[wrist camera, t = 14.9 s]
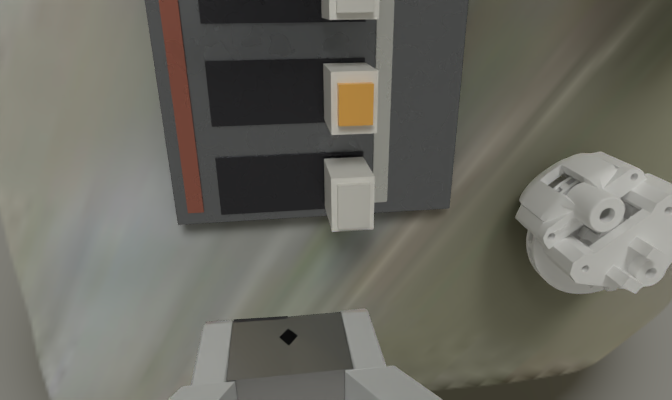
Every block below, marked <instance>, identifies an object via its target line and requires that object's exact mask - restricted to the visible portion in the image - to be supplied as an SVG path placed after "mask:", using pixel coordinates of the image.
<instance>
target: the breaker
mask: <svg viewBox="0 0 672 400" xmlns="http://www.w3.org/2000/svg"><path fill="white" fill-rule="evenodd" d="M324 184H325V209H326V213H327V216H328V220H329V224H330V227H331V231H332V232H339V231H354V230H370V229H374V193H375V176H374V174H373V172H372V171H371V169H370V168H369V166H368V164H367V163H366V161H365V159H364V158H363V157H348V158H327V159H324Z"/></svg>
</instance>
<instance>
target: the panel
mask: <svg viewBox="0 0 672 400" xmlns="http://www.w3.org/2000/svg"><path fill="white" fill-rule="evenodd" d="M145 5H146V12H147V18H148V25H149V32H150V39H151V45H152V52H153V59H154V66H155V72H156V79H157V86H158V93H159V99H160V106H161V113H162V119H163V126H164V133H165V140H166V146H167V153H168V160H169V167H170V173H171V180H172V187H173V194H174V200H175V207H176V214H177V221H178V225H181V224H198V223H214V222H231V221H247V220H264V219H281V218H297V217H314V216H327V213H326V209H325V184H324V159H327V158H348V157H363V158H364V159H365V161H366V163H367V164H368V166H369V168H370V169H371V171H372V172H373V174H374V176H375V193H374V213H380V212H397V211H414V210H430V209H447V208H449V207H450V196H451V185H452V174H453V163H454V152H455V141H456V131H457V120H458V109H459V98H460V87H461V76H462V65H463V54H464V44H465V33H466V22H467V11H468V0H379V19H359V20H328V19H324V18H322V11H321V0H145ZM363 62H365V63H367V64H369V65H370V66H372V67H373V68H375V69H377V70H378V71H379V73H378V110H377V133H371V134H346V135H331V133H330V131H329V129H328V127H327V125H326V122H325V120H324V81H323V63H363Z"/></svg>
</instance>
